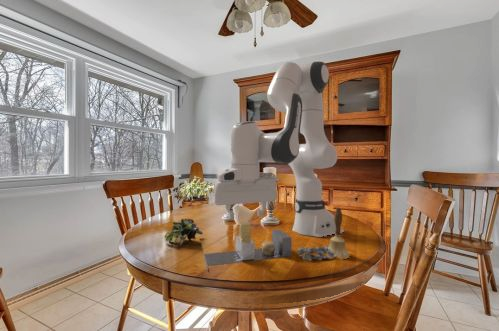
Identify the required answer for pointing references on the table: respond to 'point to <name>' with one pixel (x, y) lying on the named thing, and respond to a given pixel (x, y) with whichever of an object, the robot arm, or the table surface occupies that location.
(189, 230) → the passion flower
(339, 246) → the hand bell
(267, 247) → the hazelnut
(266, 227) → the table surface
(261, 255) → the press base
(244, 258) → the block
